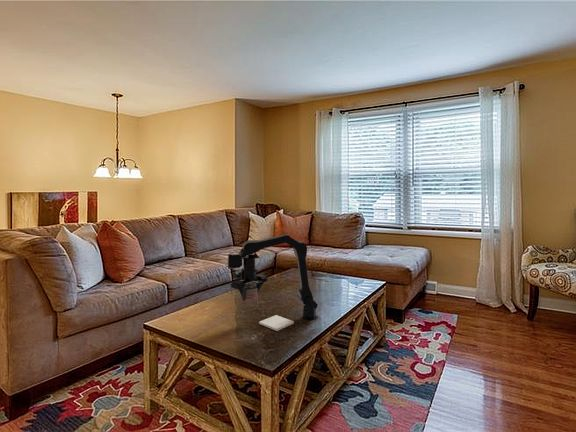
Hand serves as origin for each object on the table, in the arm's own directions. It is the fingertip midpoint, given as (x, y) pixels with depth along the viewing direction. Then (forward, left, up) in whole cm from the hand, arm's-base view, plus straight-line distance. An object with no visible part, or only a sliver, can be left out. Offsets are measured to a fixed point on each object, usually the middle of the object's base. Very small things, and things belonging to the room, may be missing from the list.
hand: (249, 298), depth 168 cm
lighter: (0, 0, -3) cm, 3 cm away
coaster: (-8, +10, -12) cm, 18 cm away
